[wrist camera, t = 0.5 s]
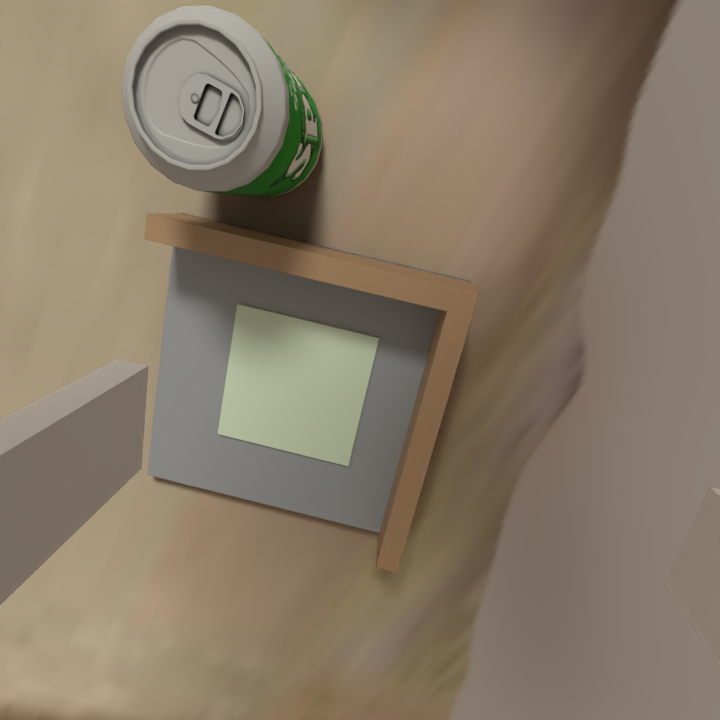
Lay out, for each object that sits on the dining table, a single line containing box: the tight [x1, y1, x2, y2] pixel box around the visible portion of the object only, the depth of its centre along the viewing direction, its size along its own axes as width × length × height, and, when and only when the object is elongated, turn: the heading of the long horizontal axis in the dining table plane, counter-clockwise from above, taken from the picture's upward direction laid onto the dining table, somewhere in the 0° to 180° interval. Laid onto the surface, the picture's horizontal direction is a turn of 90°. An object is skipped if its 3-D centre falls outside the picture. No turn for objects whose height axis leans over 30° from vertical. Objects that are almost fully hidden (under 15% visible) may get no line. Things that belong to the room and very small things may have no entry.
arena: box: [145, 213, 479, 573], centre depth 35 cm, size 20×20×5 cm
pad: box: [218, 304, 379, 466], centre depth 37 cm, size 10×10×1 cm
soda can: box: [122, 6, 323, 197], centre depth 27 cm, size 8×8×12 cm
